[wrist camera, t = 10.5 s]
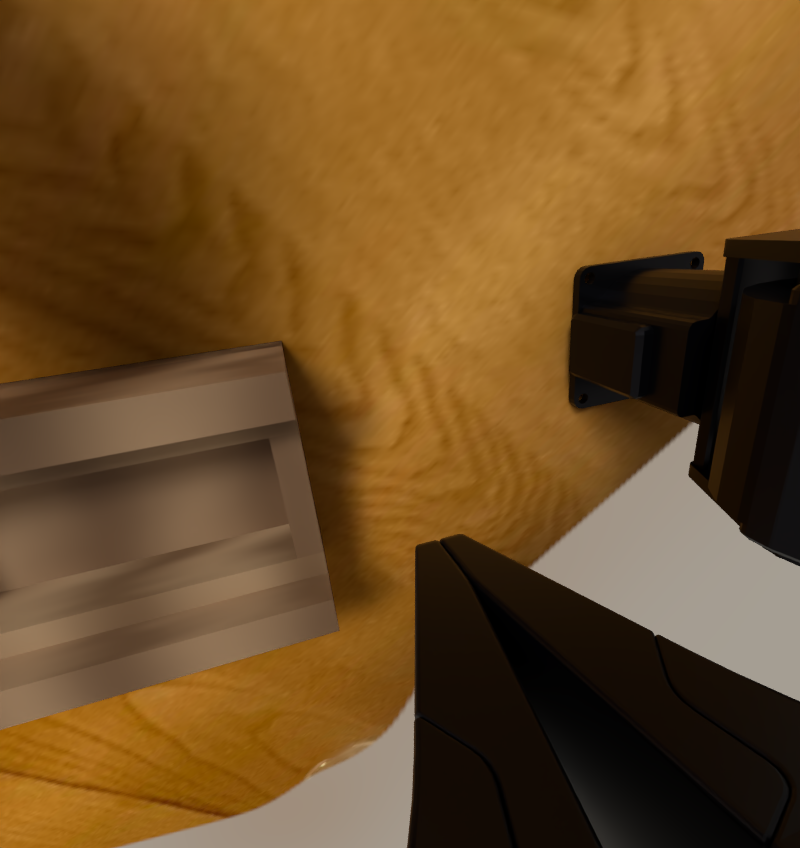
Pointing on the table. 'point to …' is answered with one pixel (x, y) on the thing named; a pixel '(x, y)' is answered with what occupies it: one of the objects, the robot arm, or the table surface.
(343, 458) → the table surface
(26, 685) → the walnut box
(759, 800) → the robot arm
